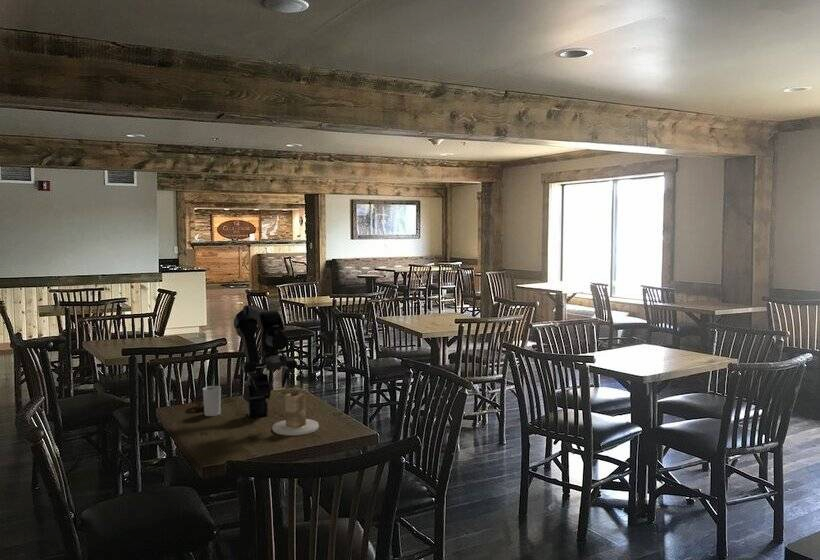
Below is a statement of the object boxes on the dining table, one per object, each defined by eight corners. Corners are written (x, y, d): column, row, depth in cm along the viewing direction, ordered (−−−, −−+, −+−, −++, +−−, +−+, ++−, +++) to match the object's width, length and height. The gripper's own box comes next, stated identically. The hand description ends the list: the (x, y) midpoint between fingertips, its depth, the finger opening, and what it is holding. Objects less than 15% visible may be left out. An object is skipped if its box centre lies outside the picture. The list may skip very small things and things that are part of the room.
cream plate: (278, 438, 215) (278, 434, 215) (268, 425, 229) (268, 421, 229) (324, 431, 222) (324, 428, 222) (311, 419, 236) (311, 416, 236)
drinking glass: (223, 411, 247) (223, 385, 246) (219, 416, 240) (218, 390, 239) (206, 411, 247) (205, 386, 246) (201, 416, 240) (200, 390, 239)
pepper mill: (294, 428, 222) (293, 391, 221) (285, 425, 225) (285, 389, 224) (305, 425, 225) (305, 388, 224) (297, 422, 229) (296, 386, 228)
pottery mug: (213, 413, 246) (201, 395, 246) (197, 420, 251) (186, 402, 250) (232, 397, 257) (221, 380, 256) (217, 405, 261) (206, 388, 261)
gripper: (247, 352, 216) (248, 397, 217) (301, 347, 224) (301, 391, 225) (240, 346, 226) (241, 390, 228) (292, 342, 234) (293, 384, 235)
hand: (270, 389), depth 229 cm, fingers open, 9 cm apart
